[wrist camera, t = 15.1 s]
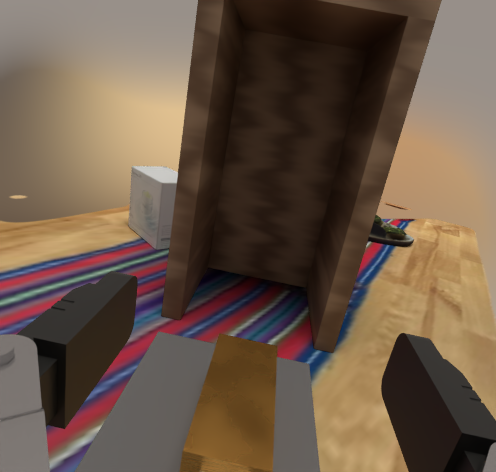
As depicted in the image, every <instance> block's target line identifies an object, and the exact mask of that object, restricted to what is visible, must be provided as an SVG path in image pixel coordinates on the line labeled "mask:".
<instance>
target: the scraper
mask: <svg viewBox="0 0 496 472" xmlns="http://www.w3.org/2000/svg"><path fill="white" fill-rule="evenodd" d="M276 371H277V346H275V345H270V344H265V343H261V342H256V341H252V340H247V339H242V338H238V337H233V336H228V335H224V334H219V337H218V340H217V343H216V346H215V350H214V353H213V356H212V359H211V362H210V366H209V369H208V372H207V375H206V378H205V382H204V385H203V388H202V391H201V394H200V397H199V401H198V404H197V407H196V410H195V413H194V417H193V420H192V423H191V426H190V429H189V433H188V436H187V439H186V442H185V445H184V448H183V452H182V459H181V465H180V471H179V472H273V450H274V423H275V397H276Z"/></svg>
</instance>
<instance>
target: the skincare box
mask: <svg viewBox="0 0 496 472" xmlns="http://www.w3.org/2000/svg"><path fill="white" fill-rule="evenodd" d="M177 178H178V173H177V172H176V171H174V170H171V169H169V168H167V167H151V166H146V167H145V166H132V175H131V193H130V209H129V227H130V228H131V229H132V230H134V231H135V232H136V233H137V234H138V235H139V236H140V237H142V238H143V239H144V240H145V241H146V242H148V243H149V244H150V245H151V246H152V247H153V248H154V249H156V250H159V249H167V248H169V246H170V238H171V229H172V221H173V212H174V203H175V195H176V186H177Z"/></svg>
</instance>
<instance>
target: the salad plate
mask: <svg viewBox="0 0 496 472" xmlns="http://www.w3.org/2000/svg"><path fill="white" fill-rule="evenodd" d="M368 241H371V242H376V243H381V244H387V245H393V246H408V245H410V244H412V243H413V241H414V239H413V238H412V237H410V236H409V235H407V234H406V233H405V232H404V231H403V230H401V229H400V228H397V227H396V226H394V225H391V224H388V223H384V222H383V221H382V220H381V218H380V217H378V216H377V215H376V216H375V219H374V222H373V225H372V229H371V232H370V235H369V238H368Z"/></svg>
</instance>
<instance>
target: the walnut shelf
mask: <svg viewBox="0 0 496 472" xmlns="http://www.w3.org/2000/svg"><path fill="white" fill-rule="evenodd" d="M441 1H442V0H198V6H197V15H196V23H195V32H194V41H193V50H192V58H191V67H190V76H189V83H188V92H187V101H186V109H185V119H184V127H183V135H182V143H181V152H180V161H179V169H178V178H177V186H176V195H175V203H174V212H173V221H172V229H171V238H170V246H169V255H168V263H167V272H166V281H165V289H164V298H163V306H162V315H161V316H163V317H168V318H172V319H177V320H180V319H181V318H182V316H183V314H184V312H185V310H186V308H187V306H188V304H189V302H190V300H191V299H192V297H193V295H194V293H195V291H196V289H197V287H198V285H199V283H200V281H201V280H202V278H203V276H204V274H205V272H206V270H207V268H213V269H218V270H223V271H227V272H232V273H237V274H242V275H247V276H251V277H256V278H261V279H266V280H271V281H275V282H280V283H285V284H290V285H295V286H300V287H304V288H306V291H307V299H308V307H309V315H310V322H311V330H312V338H313V346H314V349H317V350H322V351H327V352H331V353H333V352H334V349H335V346H336V343H337V339H338V336H339V333H340V329H341V326H342V323H343V320H344V316H345V313H346V310H347V307H348V303H349V300H350V297H351V294H352V290H353V287H354V284H355V281H356V277H357V274H358V271H359V268H360V264H361V261H362V258H363V255H364V251H365V248H366V245H367V242H368V238H369V235H370V232H371V229H372V225H373V222H374V219H375V216H376V212H377V209H378V206H379V202H380V199H381V196H382V193H383V189H384V186H385V183H386V180H387V176H388V173H389V170H390V167H391V163H392V160H393V157H394V154H395V150H396V147H397V144H398V140H399V137H400V134H401V131H402V128H403V124H404V121H405V118H406V114H407V111H408V108H409V104H410V101H411V98H412V95H413V92H414V88H415V85H416V82H417V79H418V75H419V72H420V69H421V65H422V62H423V59H424V56H425V53H426V49H427V46H428V43H429V39H430V36H431V33H432V30H433V27H434V23H435V20H436V17H437V13H438V10H439V7H440V4H441Z"/></svg>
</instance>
